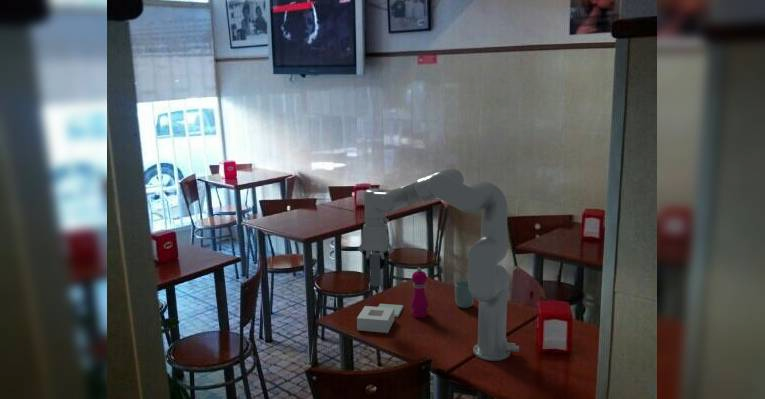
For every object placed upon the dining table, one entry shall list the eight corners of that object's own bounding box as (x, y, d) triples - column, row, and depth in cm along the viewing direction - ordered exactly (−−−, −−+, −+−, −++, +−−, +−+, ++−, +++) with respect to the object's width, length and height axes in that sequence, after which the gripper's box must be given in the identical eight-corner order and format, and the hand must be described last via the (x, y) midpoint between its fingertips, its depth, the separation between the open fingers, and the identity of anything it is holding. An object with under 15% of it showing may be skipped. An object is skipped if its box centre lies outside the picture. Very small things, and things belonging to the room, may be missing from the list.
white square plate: (403, 307, 242) (403, 305, 242) (398, 317, 233) (398, 314, 233) (379, 305, 245) (379, 303, 244) (374, 315, 235) (374, 312, 235)
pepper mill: (428, 311, 238) (428, 264, 234) (428, 318, 231) (428, 270, 227) (411, 310, 239) (410, 264, 235) (410, 318, 232) (409, 270, 228)
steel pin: (382, 282, 225) (382, 253, 223) (380, 286, 221) (379, 256, 219) (372, 282, 226) (371, 252, 223) (370, 285, 222) (369, 255, 220)
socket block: (394, 319, 230) (394, 308, 229) (387, 332, 219) (387, 320, 218) (365, 317, 233) (364, 306, 232) (357, 330, 221) (356, 318, 220)
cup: (451, 304, 244) (451, 282, 242) (467, 301, 248) (467, 279, 245) (461, 311, 237) (461, 288, 235) (477, 307, 241) (477, 285, 239)
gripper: (398, 219, 220) (399, 265, 224) (356, 218, 224) (357, 263, 228) (394, 224, 213) (395, 272, 217) (351, 223, 217) (352, 269, 220)
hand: (376, 267), depth 222 cm, fingers closed on steel pin, 4 cm apart
